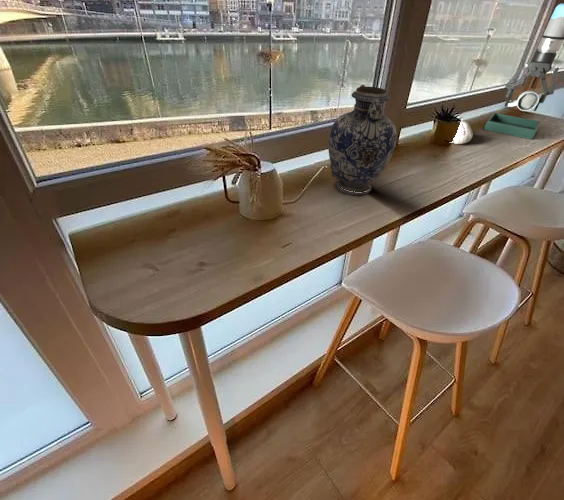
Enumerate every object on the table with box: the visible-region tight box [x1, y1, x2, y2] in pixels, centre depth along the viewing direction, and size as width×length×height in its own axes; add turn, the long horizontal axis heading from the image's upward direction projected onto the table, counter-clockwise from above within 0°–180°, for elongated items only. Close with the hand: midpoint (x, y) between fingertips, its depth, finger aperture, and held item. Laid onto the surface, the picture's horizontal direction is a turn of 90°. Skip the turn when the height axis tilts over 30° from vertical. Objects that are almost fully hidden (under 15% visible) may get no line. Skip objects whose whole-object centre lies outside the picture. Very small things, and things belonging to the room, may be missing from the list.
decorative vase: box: [327, 84, 398, 196], centre depth 92 cm, size 21×19×28 cm
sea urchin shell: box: [450, 119, 474, 145], centre depth 135 cm, size 13×14×8 cm
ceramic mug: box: [506, 89, 540, 112], centre depth 144 cm, size 11×8×8 cm
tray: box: [483, 112, 541, 140], centre depth 150 cm, size 20×18×4 cm
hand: (519, 108), depth 146 cm, fingers closed on ceramic mug, 11 cm apart
